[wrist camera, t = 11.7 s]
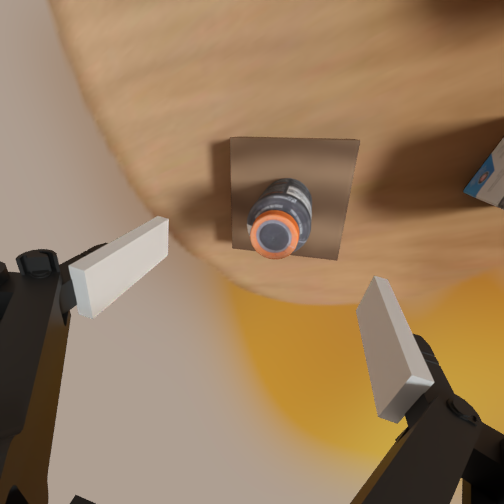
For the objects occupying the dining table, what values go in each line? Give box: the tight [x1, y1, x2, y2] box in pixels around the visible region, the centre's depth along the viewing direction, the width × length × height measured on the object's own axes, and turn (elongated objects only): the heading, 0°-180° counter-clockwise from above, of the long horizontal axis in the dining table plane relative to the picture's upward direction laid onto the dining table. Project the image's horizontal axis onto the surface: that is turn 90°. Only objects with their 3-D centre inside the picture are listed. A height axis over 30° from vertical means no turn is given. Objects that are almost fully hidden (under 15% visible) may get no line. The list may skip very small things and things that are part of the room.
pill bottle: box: [247, 178, 312, 259], centre depth 25 cm, size 6×6×11 cm
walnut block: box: [230, 137, 360, 260], centre depth 31 cm, size 14×14×4 cm
